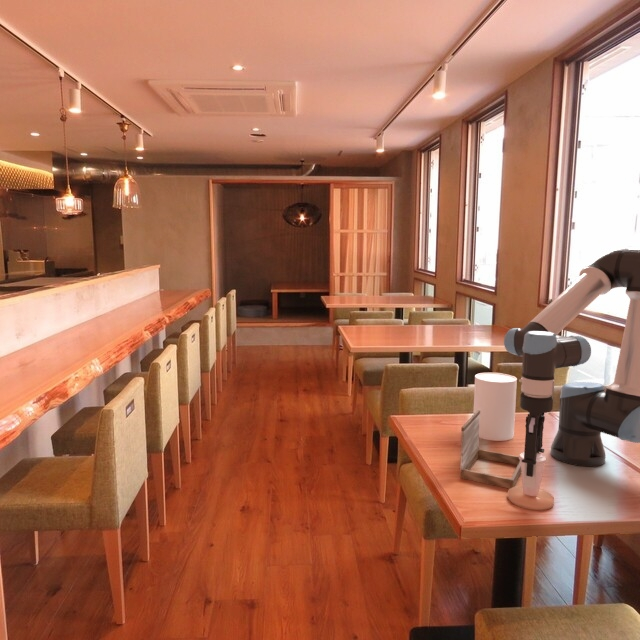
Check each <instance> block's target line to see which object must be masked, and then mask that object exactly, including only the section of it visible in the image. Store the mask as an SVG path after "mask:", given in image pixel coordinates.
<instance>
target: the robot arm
mask: <svg viewBox="0 0 640 640" xmlns="http://www.w3.org/2000/svg"><path fill="white" fill-rule="evenodd" d="M578 275H579V277H578V278H576V279H575V280H574V281H573V282H572V283H571V284H570V285H569V286H568V287H567V288H566V289H564V290H563V291H562V292H561V293H560V294H559V295H557V297H556V298H554V299H553V300H552V301H551V302H550V303H549V304H548V305H547V306H546V307H544V309H542V310H541V311H540V312H539V313H538V314H537V315H535V316H534V318H532V319H531V320H530V321H529V322H528V323H527V324H526V325H525V326H523V328H522V327H521V328H520V327H513V328H510V329H509V330H508V331H507V332H506V334H505V335H504V338H503V346H504V349H505V350H506V351H507V352H508V353H510V354H512V355H515V356H518V357H519V358H520V357H522V361H521V362H522V364H521V365H522V369H521V378H519V379H518V382H519V383H520V384H521V385H520V391H521V393H520V396H519V397H520V399H519V400H520V402H519V407H520V408H521V409H522V410H524V411H527V412H528V413H527V416H526V417H525V435H524V436H525V438H524V439H525V440H524V451H523V452H524V460H523V459H522V462H524V463H525V468H524V486H523V485H522V486H523V487H528V488H532V489H535V487H536V470H537V463H536V456H537V453H539V454H541V455H542V453H543V454H544V453H545V449H544V448H543V445H544V444H543V436H544V433H543V432H544V426H545V425H544V423H545V420H546V418H545V417H546V415H545V414H546V413H550V412H551V411H553V406H554V405H553V404H554V403H553V402H554V396H553V395H554V393H555V391H554V390H555V371H556V369H562V368H568V367H569V368H570V367H578V366H580V365H583V364H586V363H587V362H588V361H589V360H590V358H591V356H592V347H591V344H590V343H589V341H588V339H586V338H585V337H583V336H579V335H570V336H563V335H559V333H561V332H562V331H563V330H564V329H565V328H566V327H567V326H568V325H569V324H570V323H571V322H572V321H574V319H576V318H577V316H579V315H580V314H581V313H582V312H583V311H584V310H585V309H587V307H589V306H590V305H591V304H592V303H593V302H594V301H595V300H596V299H597V298H598V297H599V296H601V295H605V294H607V293H609V292H610V291H611V290H612V289H616V288H625V294H626V295H627V296H628V298H629V300H630V301H629V305H628V310H627V316H626V320H625V325H624V330H623V335H622V339H621V340H622V341H621V345H620V350H619V354H618V360H617V365H616V370H615V375H614V380H613V382H612V383H610V384H609V385H607V386H606V388H605V385H604V384H602V383H598V382H591V381H590V382H588V381H582V382H580V381H579V382H577V381H575V382H569V383H568V382H567V383H565V384H563V386H562V387H561V390H560V396H559V411H558V413H559V414H558V415H559V416H558V430H557V433H556V434H555V436H554V438H553V441H552V442H551V443H552V444H551V445H550V455H551V456H552V457H553V458H555V459H556V460H559V461H560V462H563V463H566V464H570V465H575V466H579V467H599V466H601V465H604V464H605V462H606V455H607V454H606V450H605V447H604V444H603V440H602V437H601V433H602V434H606V435H609V436H612V437H614V438H618V439H619V440H621V441H626V442H630V443H634V444H640V247H639V246H638V247H637V246H622V247H617V248H615V249H611V250H609V251H606V252H605V253H603V254H601V255H600V256H598V257H597V258H595V259H594V260H592V261H590V263H588V264H587V265H585V267H583V268H582V269H581V270H580V272H579V274H578Z"/></svg>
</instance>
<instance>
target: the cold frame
mask: <svg viewBox="0 0 640 640" xmlns="http://www.w3.org/2000/svg"><path fill="white" fill-rule="evenodd" d="M479 419H480V410H477V411H476V412H475V414H474V415H473V414H472V415H471V416H470V418H469V419H468V420H467V421H466V422H465V423H464V424H463V425H462V426H461V444H460V465H459V467H460V468H459V470H460V479H464V480H467V481H468V480H469V481H474V482H478V483H482V484H486V485H492V486H496V487H501V488H505V489H508V490H509V489H510V488H512V487H515V486H516V484H517V482H518V480H519V478H520V476H521V475H522V472H521V461H520V459H519V457H520V455H513V454H509V453H508V454H507V453H503V452H497V451H492V450H485V449H483V448H479V439H480V437H479ZM478 459H484V460H489V461H493V462H499V463H505V464H509V465H514V466H515V465H516V467H515V470H514V472H513V473H512V476H511V477H505V476H500V475H496V474H495V475H494V474H489V473H487V472H480V471H475V470H471V469H472V468H473V466H474V464H475V463H476V462H477V460H478Z"/></svg>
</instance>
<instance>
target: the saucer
mask: <svg viewBox="0 0 640 640" xmlns="http://www.w3.org/2000/svg"><path fill="white" fill-rule="evenodd" d="M507 499H508V501H509V502H511V504H513V505H515V506H517V507H519V508H522V509H525V510H530V511H547V510H550V509H551V508H553V507H554V505H555V498H554V496H553V495H552V494H551V493H550V492H548V491H546V490H544V489H542V488H540V489H539V494H538V495H537V496H529V495H526V494H524V493H523V485H515V486H514V487H512V488H510V489H509V488H508V491H507Z"/></svg>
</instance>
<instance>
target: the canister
mask: <svg viewBox="0 0 640 640" xmlns="http://www.w3.org/2000/svg"><path fill="white" fill-rule="evenodd" d="M517 380H518V378H517V377H516V376H514V375H510V374H506V373H501V372H480V373H477V374H475V375H474V390H473V391H474V393H473V414H472V415H474V414H475V412H476V411H477V410H480V419H479V439H483V440H487V441H494V442H506V441H509V440H512V439H513V438H514V437H515V422H516V421H515V418H516V402H517V401H516V400H517V384H518V383H517V382H518V381H517Z"/></svg>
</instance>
